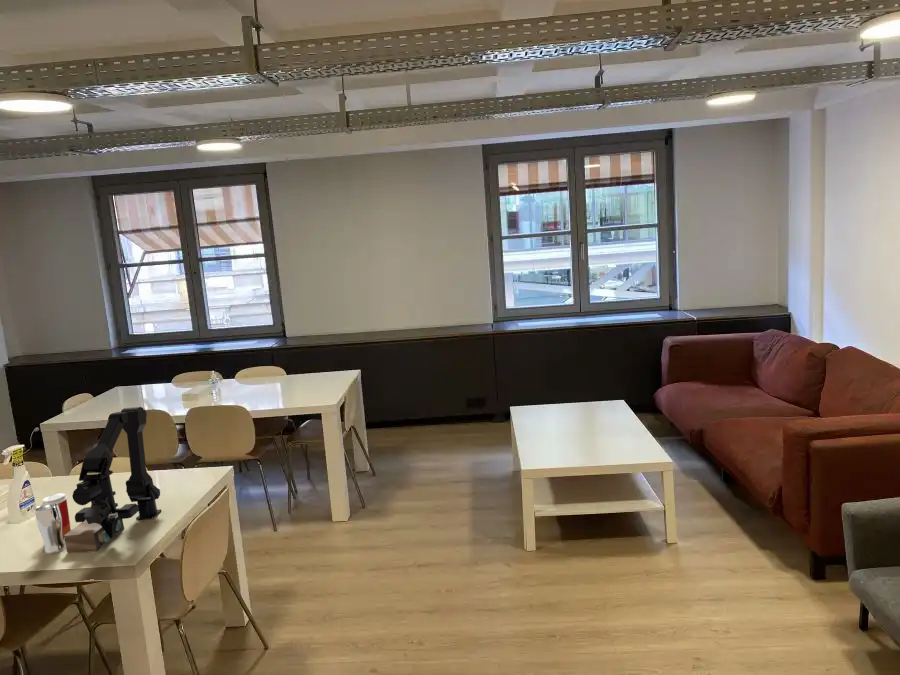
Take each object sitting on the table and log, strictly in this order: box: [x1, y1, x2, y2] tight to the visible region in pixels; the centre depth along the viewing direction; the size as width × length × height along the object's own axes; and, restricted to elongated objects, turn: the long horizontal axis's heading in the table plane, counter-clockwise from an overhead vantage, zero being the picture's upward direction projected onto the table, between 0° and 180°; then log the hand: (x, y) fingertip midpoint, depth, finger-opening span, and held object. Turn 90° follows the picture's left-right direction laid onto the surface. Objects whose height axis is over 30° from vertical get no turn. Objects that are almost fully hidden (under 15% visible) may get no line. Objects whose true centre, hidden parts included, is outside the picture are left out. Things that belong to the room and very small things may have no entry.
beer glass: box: [34, 503, 66, 555], centre depth 221 cm, size 7×7×15 cm
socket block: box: [63, 518, 125, 554], centre depth 226 cm, size 16×10×6 cm, turn 176°
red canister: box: [41, 492, 72, 539], centre depth 233 cm, size 8×8×14 cm
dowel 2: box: [115, 520, 121, 531], centre depth 230 cm, size 4×9×4 cm, turn 86°
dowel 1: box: [98, 531, 111, 543], centre depth 222 cm, size 4×9×4 cm, turn 86°
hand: (111, 537), depth 222 cm, fingers closed
